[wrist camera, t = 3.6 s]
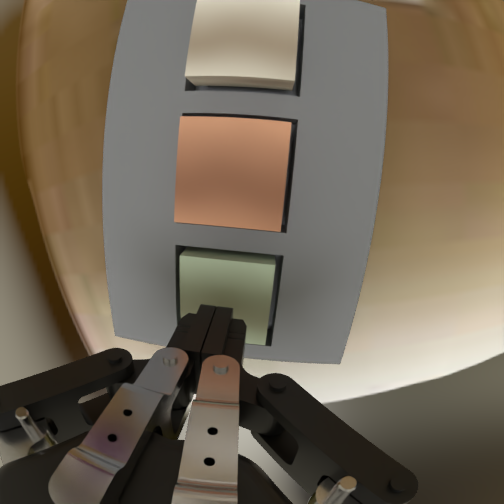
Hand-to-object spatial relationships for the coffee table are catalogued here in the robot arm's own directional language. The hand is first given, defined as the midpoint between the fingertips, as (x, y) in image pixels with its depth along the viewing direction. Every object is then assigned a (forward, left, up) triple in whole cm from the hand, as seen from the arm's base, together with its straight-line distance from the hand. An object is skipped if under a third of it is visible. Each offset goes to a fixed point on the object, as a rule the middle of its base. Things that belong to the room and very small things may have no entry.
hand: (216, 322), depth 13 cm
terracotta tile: (-7, 0, -4) cm, 8 cm away
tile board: (-7, 0, -6) cm, 9 cm away
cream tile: (-14, 0, -4) cm, 14 cm away
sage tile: (0, 0, -5) cm, 5 cm away
